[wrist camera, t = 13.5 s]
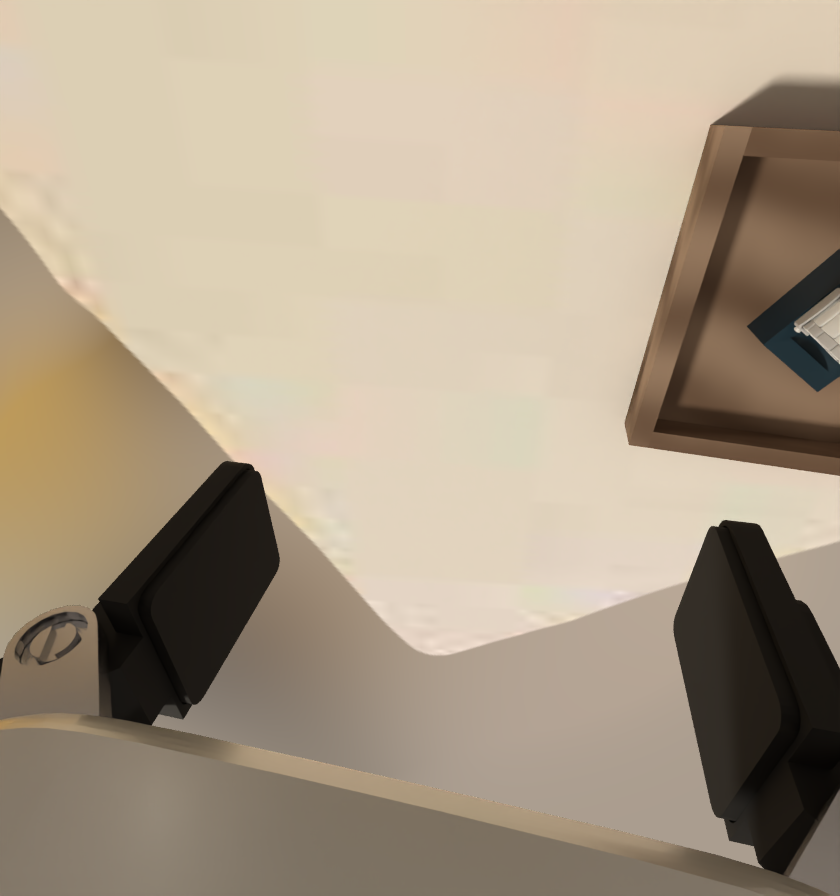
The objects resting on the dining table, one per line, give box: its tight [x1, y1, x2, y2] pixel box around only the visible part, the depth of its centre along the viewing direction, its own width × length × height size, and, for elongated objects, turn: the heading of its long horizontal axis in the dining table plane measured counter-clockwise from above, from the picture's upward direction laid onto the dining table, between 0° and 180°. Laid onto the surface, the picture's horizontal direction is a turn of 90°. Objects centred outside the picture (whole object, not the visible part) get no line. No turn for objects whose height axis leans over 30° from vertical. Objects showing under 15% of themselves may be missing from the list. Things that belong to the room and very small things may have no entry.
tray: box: [625, 125, 840, 476], centre depth 30 cm, size 18×16×3 cm
